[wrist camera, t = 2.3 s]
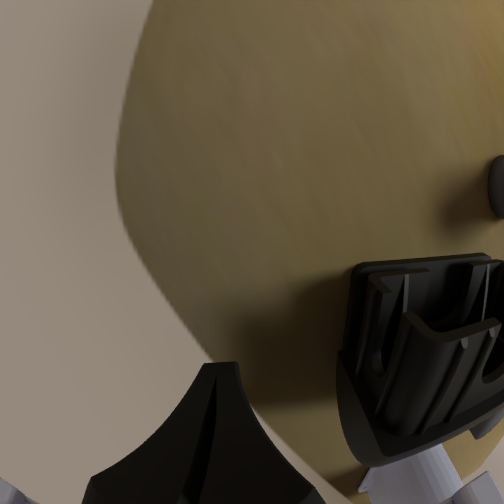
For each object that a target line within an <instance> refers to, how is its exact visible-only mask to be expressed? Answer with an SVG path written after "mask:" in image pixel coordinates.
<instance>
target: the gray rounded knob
mask: <svg viewBox="0 0 504 504" xmlns="http://www.w3.org/2000/svg"><path fill="white" fill-rule="evenodd" d="M488 194H489V200H490V204H491V207H492V210H493V211H494V213H495V214H496V215H497V216H498V217H500V218H503V219H504V155H500V156H498V157H497V158H496V159H495V160H494V162H493V164H492V166H491V169H490V173H489V180H488Z"/></svg>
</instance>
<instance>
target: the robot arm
mask: <svg viewBox="0 0 504 504" xmlns="http://www.w3.org/2000/svg"><path fill="white" fill-rule="evenodd" d="M364 491H367V492H368V495H369V498H370V501H371V504H504V498H503V496H502V494H501V492H500V490H499V489H498V487H497V485H496V483H495V481H494V480H493V478H492V476H491V474H490V473H489V471H485V472H484V473H483V474H481V475H480V476H478V477H477V478H475V479H474V480H472V481H471V482H469V483H468V484H466V485H465V486H464V485H463V483H462V481H461V479H460V477H459V475H458V473H457V472H456V470H455V468H454V466H453V464H452V462H451V460H450V459H449V457H448V455H447V453H446V451H445V450H444V448H443V446H442V443H441V444H439V445H436V446H434V447H432V448H430V449H427V450H425V451H423V452H420V453H418V454H415V455H413V456H410V457H408V458H405V459H402V460H399V461H397V462H394V463H391V464H388V465H385V466H381V467H375V468H370V469H369V471H368V473H367V474H366V476H365V478H364V480H363V481H362V483H361V485H360V487H359V488H358V492H359V493H361V492H364ZM0 504H39V503H37V502H35V501H33V500H32V499H30V498H28V497H26V496H25V495H24V494H23V493H22V492H21V491H19V490H18V489H17V488H15V487H14V486H12V485H11V484H9V483H8V482H6V481H5V480H3V479H2V478H0ZM82 504H326V503H325V501H324V500H323V498H322V497H321V496H320V494H319V493H318V491H317V490H316V489H315V487H314V486H313V485H312V484H311V483H310V482H309V481H308V480H306V479H305V478H304V477H303V476H302V475H301V474H300V473H299V472H298V471H297V470H296V469H295V468H294V467H293V466H292V465H291V464H290V463H289V462H288V461H287V460H286V458H285V457H284V456H283V455H282V454H281V453H280V451H279V450H278V449H277V448H276V446H275V445H274V444H273V442H272V441H271V440H270V438H269V437H268V436H267V434H266V433H265V431H264V429H263V428H262V426H261V425H260V423H259V422H258V420H257V418H256V416H255V414H254V412H253V410H252V408H251V406H250V404H249V402H248V400H247V398H246V395H245V393H244V390H243V387H242V383H241V377H240V371H239V366H238V363H237V362H235V361H234V362H218V363H204V364H203V365H202V367H201V369H200V371H199V373H198V375H197V376H196V378H195V380H194V381H193V383H192V385H191V386H190V388H189V389H188V391H187V393H186V394H185V395H184V397H183V398H182V400H181V401H180V403H179V404H178V405H177V407H176V408H175V409H174V411H173V412H172V413H171V415H170V416H169V417H168V418H167V419H166V421H165V422H164V423H163V424H162V425H161V426H160V427H159V428H158V429H157V430H156V431H155V433H154V434H152V435H151V436H150V437H149V438H148V439H147V440H146V441H145V442H144V443H143V444H142V445H140V447H138V448H137V449H136V450H134V451H133V452H132V453H130V454H129V455H127V456H126V457H125V458H123V459H122V460H121V461H119V462H117V463H116V464H114V465H113V466H111V467H109V468H107V469H105V470H104V471H102V472H100V473H98V474H96V475H94V476H92V477H91V479H90V481H89V483H88V485H87V489H86V491H85V495H84V498H83V501H82Z"/></svg>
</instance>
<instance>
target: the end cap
mask: <svg viewBox="0 0 504 504" xmlns="http://www.w3.org/2000/svg"><path fill="white" fill-rule="evenodd" d="M336 389H337V402H338V410H339V416H340V421H341V425H342V429H343V433H344V436H345V439H346V441H347V444H348V446H349V448H350V450H351V452H352V454H353V455H354V456H355V458H356V459H357V460H358V461H359V462H360V463H361V464H363V465H365V466H367V467H370V468H375V467H381V466H385V465H388V464H391V463H394V462H397V461H399V460H402V459H405V458H408V457H410V456H413V455H415V454H418V453H420V452H423V451H425V450H427V449H430V448H432V447H434V446H436V445H439V444H441V443H443V442H445V441H447V440H449V439H451V438H453V437H455V436H457V435H459V434H461V433H463V432H465V431H466V430H468V429H470V428H472V427H474V426H475V425H477V424H479V423H480V422H482V421H484V420H485V419H487V418H489V417H490V416H492V415H493V414H495V413H496V412H498V411H499V410H501V409H502V408H504V261H503V260H498V259H494V260H491V257H490V256H488V255H486V254H484V253H473V254H462V255H450V256H439V257H427V258H414V259H402V260H388V261H375V262H364V263H361V264H358V265H357V266H356V267H355V268H354V269H353V272H352V275H351V280H350V290H349V299H348V308H347V316H346V323H345V330H344V337H343V350H340V351H339V352H338V357H337V368H336Z"/></svg>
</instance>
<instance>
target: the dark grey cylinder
mask: <svg viewBox="0 0 504 504" xmlns="http://www.w3.org/2000/svg"><path fill="white" fill-rule="evenodd" d="M503 417H504V408H502V409H501V410H499V411H498V412H496V413H495V414H493V415H492V416H490V417H489V418H487V419H485V420H484V421H482V422H480V423H479V424H477V425H475V426H474V427H472V428H470V429H469V430H470V432H471V433H472V435H473V436H474V438H475V439H476V440H477V439H480V438H481V437H483V436H484V435H486V434H487V433H488V432H490V431H491V430H492V429H493V428H494V427H495V426H496V425H497V424H498V423H499V422H500V421H501V419H502V418H503Z"/></svg>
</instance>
